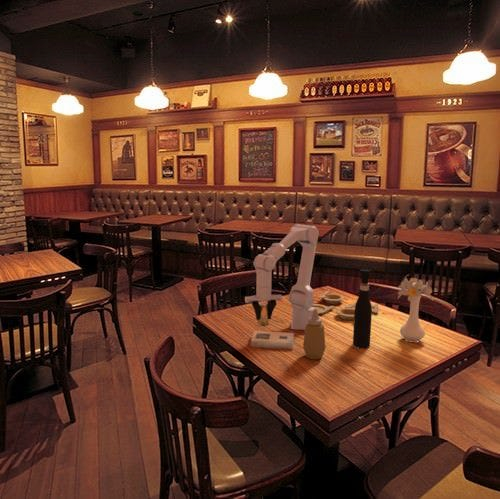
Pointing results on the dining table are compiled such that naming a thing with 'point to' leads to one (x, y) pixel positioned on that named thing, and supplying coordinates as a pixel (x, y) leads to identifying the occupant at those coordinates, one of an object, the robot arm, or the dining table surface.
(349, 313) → the tableware set
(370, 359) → the dining table surface
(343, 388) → the dining table surface
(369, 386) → the dining table surface
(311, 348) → the squeeze bottle
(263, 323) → the brass fitting
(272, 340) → the plate
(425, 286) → the flower vase
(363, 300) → the wine bottle
